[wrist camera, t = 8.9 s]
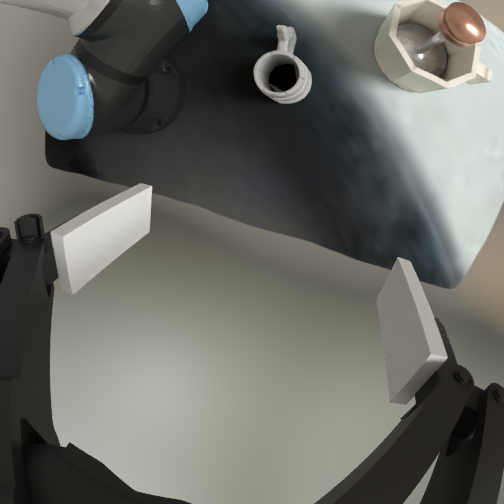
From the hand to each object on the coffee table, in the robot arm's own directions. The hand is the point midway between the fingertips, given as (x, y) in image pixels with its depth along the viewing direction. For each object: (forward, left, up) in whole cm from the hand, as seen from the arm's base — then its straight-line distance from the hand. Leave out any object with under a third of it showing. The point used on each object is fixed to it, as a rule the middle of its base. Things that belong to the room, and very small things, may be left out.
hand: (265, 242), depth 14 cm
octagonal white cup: (+14, +22, -35) cm, 43 cm away
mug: (-6, +13, -35) cm, 38 cm away
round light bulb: (+12, +22, -31) cm, 40 cm away
